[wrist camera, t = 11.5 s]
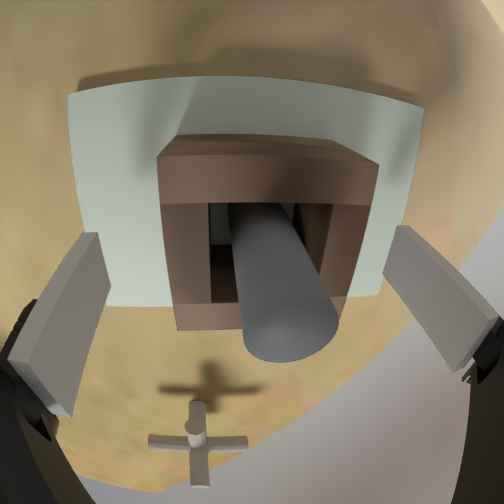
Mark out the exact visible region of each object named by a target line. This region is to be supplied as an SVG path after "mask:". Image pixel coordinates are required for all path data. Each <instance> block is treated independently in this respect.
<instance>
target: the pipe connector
mask: <svg viewBox="0 0 504 504" xmlns="http://www.w3.org/2000/svg"><path fill="white" fill-rule="evenodd" d="M185 430H186V434H187V436H168V435H155V434H149V436H148V446H149V449H150V450H159V451H173V452H189V458H190V483H191V487H193V488H209V487H210V482H209V469H208V453H213V452H243V451H248V439H247V436H226V437H207V435H206V413H205V403H204V402H202V401H191V402H190V403H189V420H188V421H186V423H185Z"/></svg>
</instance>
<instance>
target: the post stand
mask: <svg viewBox="0 0 504 504" xmlns="http://www.w3.org/2000/svg"><path fill="white" fill-rule="evenodd" d="M67 104H68V123H69V135H70V146H71V155H72V163H73V170H74V177H75V183H76V189H77V195H78V200H79V205H80V210H81V215H82V220H83V225H84V229H85V233H87V232H98V235H99V240H100V244H101V248H102V252H103V256H104V260H105V264H106V268H107V272H108V276H109V279H110V283H111V289H110V291H109V294H108V297H107V299H106V305H107V306H127V307H173V303H172V297H171V291H170V284H169V278H168V271H167V264H166V256H165V248H164V240H163V232H162V222H161V212H160V201H159V189H158V176H157V159H156V157H157V156H158V155H159V154H160V152H161V151H162V150H163V149H164V148H165V147H166V146H167V144H168V143H169V142H170V141H171V140H172V139H173V138H174V137H175V136H176V135H187V134H261V135H281V136H296V137H308V138H319V139H329V140H333V141H335V142H337V143H339V144H341V145H343V146H345V147H347V148H349V149H351V150H353V151H355V152H357V153H359V154H361V155H363V156H364V157H366V158H368V159H370V160H372V161H374V162H375V163H377V164H379V165H380V166H379V171H378V176H377V182H376V187H375V191H374V196H373V201H372V205H371V210H370V214H369V218H368V223H367V227H366V231H365V235H364V239H363V243H362V247H361V250H360V254H359V258H358V261H357V265H356V268H355V272H354V275H353V279H352V282H351V285H350V289H349V292H348V295H347V298H351V297H362V296H371V295H378V293H379V290H380V287H381V285H382V282H383V279H384V276H383V274H382V272H383V269H384V266H385V263H386V260H387V257H388V254H389V250H390V247H391V244H392V240H393V237H394V233H395V230H396V226H397V225H401V222H402V219H403V215H404V211H405V208H406V204H407V200H408V196H409V191H410V187H411V183H412V178H413V174H414V169H415V164H416V159H417V154H418V148H419V142H420V136H421V130H422V123H423V116H424V108H422V107H419V106H416V105H412V104H409V103H406V102H402V101H399V100H395V99H392V98H388V97H384V96H380V95H376V94H372V93H368V92H363V91H359V90H354V89H349V88H344V87H338V86H333V85H327V84H320V83H314V82H306V81H298V80H289V79H279V78H266V77H249V76H190V77H173V78H160V79H150V80H141V81H134V82H126V83H120V84H114V85H108V86H102V87H97V88H92V89H87V90H83V91H78V92H74V93H70V94H67ZM293 212H294V203H277V202H228V203H210V215H211V245H222V244H232V251H233V259H234V268H235V276H236V284H237V292H238V300H239V308H240V315H241V323H242V331H243V338H244V343H245V346H246V348H247V350H248V351H249V352H250V353H251V354H252V355H253V356H255V357H257V358H259V359H261V360H264V361H268V362H275V363H284V362H292V361H297V360H300V359H303V358H306V357H308V356H310V355H313V354H314V353H316V352H318V351H319V350H321V349H322V348H323V347H325V346H326V345H327V344H328V343H329V342H330V341H331V339H332V338H333V337H334V335H335V334H336V331H337V329H338V325H339V316H338V313H337V311H336V309H335V307H334V305H333V303H332V300H331V298H330V296H329V294H328V292H327V290H326V288H325V286H324V284H323V282H322V280H321V278H320V276H319V274H318V272H317V271H316V269H315V267H314V265H313V263H312V261H311V259H310V257H309V255H308V253H307V251H306V249H305V247H304V245H303V244H302V242H301V240H300V238H299V236H298V234H297V232H296V230H295V228H294V227H293V225H292V220H293Z"/></svg>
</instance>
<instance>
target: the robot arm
mask: <svg viewBox="0 0 504 504" xmlns="http://www.w3.org/2000/svg"><path fill="white" fill-rule="evenodd" d="M382 274H383V276H384V277H385V278H386V279H387V281H388V282H389V283H390V284H391V286H392V287H393V288H394V290H395V291H396V292H397V294H398V295H399V296H400V297H401V299H402V300H403V301H404V303H405V304H406V305H407V307H408V308H409V310H410V311H411V312H412V314H413V315H414V316H415V318H416V319H417V321H418V322H419V323H420V325H421V326H422V327H423V329H424V330H425V332H426V333H427V335H428V336H429V338H430V339H431V341H432V342H433V343H434V345H435V346H436V348H437V349H438V351H439V352H440V354H441V355H442V357H443V358H444V360H445V362H446V363H447V365H448V366H449V368H450V369H451V371H452V372H455V371H457V370H460V369H462V368H464V367H465V366H466V364H467V363H468V362H469V360H470V359H471V358H472V357H473V358H474V360H475V362H474V363H473V365H472V366H471V367H470V369H469V370H468V371H467V372H466V373H465V375H464V376H463V377H462V381H464V380H465V379H466V378H467V377H468V376H469V375H471V377H470V378H469V379H468V380H467V383H470V384H471V388H470V389H471V390H470V404H469V416H468V425H467V433H466V440H465V446H464V452H463V457H462V463H461V467H460V472H459V476H458V480H457V484H456V488H455V492H454V495H453V499H452V502H451V504H504V320H503V319H502V318H501V317H500V315H499V314H498V313H497V312H496V311H495V310H494V308H493V307H492V306H491V305H490V304H489V303H488V302H487V301H486V300H485V298H484V297H483V296H482V295H481V294H480V293H479V292H478V291H477V290H476V289H475V288H474V287H473V286H472V285H471V284H470V283H469V281H467V279H466V278H464V276H463V275H462V274H461V273H460V272H459V271H458V270H457V269H456V268H455V267H454V266H453V265H451V264H450V263H449V262H448V261H447V260H446V259H445V258H444V257H443V256H442V255H441V254H440V253H439V252H438V251H437V250H436V249H435V248H433V247H432V246H431V245H430V244H429V243H428V242H427V241H426V240H425V239H423V238H422V237H421V236H420V235H419V234H418V233H417V232H415V231H414V230H413V229H412V228H411V227H410V226H404V225H397V226H396V230H395V233H394V237H393V240H392V244H391V247H390V250H389V254H388V257H387V260H386V263H385V266H384V269H383V272H382ZM110 289H111V283H110V279H109V276H108V272H107V268H106V264H105V260H104V256H103V252H102V248H101V244H100V240H99V235H98V232H87V233H82V234H81V235H80V236H79V238H78V239H77V240H76V242H75V243H74V245H73V246H72V247H71V249H70V250H69V252H68V253H67V255H66V256H65V257H64V259H63V260H62V262H61V263H60V265H59V266H58V268H57V269H56V271H55V273H54V274H53V276H52V277H51V279H50V280H49V282H48V284H47V285H46V287H45V289H44V290H43V292H42V294H41V295H40V297H39V299H33V300H32V301H31V302H30V303H29V304H28V305H27V306H26V307H25V308H24V309H23V311H22V313H21V314H20V316H19V318H18V322H16V323H15V325H14V327H13V330H12V331H11V333H10V335H9V337H8V339H7V341H6V343H5V345H4V347H3V349H2V351H1V353H0V504H96V503H95V502H94V501H93V499H92V498H91V497H90V495H89V494H88V492H87V491H86V489H85V488H84V486H83V485H82V483H81V482H80V480H79V479H78V477H77V475H76V474H75V472H74V471H73V469H72V467H71V466H70V464H69V462H68V460H67V459H66V457H65V455H64V453H63V451H62V450H61V448H60V446H59V444H58V442H57V440H56V438H55V437H56V434H57V430H58V426H59V422H58V420H57V419H56V417H55V416H54V415H53V414H56V415H61V416H65V417H71V418H72V415H73V410H74V405H75V401H76V397H77V393H78V389H79V385H80V381H81V377H82V374H83V370H84V366H85V363H86V359H87V356H88V353H89V349H90V346H91V343H92V340H93V337H94V334H95V331H96V328H97V325H98V322H99V319H100V316H101V313H102V310H103V308H104V305H105V302H106V299H107V297H108V294H109V291H110ZM44 405H45V406H46V407H47V408H48V409H49V410H47V409H46V408H45V407H44Z"/></svg>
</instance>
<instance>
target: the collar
mask: <svg viewBox="0 0 504 504" xmlns="http://www.w3.org/2000/svg"><path fill="white" fill-rule="evenodd" d="M156 159H157V176H158V189H159V201H160V212H161V222H162V232H163V240H164V248H165V256H166V264H167V271H168V278H169V284H170V291H171V297H172V303H173V309H174V315H175V320H176V326H177V331H189V330H229V329H242V323H241V315H240V308H239V300H238V292H237V284H236V276H235V268H234V259H233V251H232V244H222V245H211V215H210V203H228V202H277V203H294V212H293V220H292V225H293V227H294V228H295V230H296V232H297V234H298V236H299V238H300V240H301V242H302V244H303V245H304V247H305V249H306V251H307V253H308V255H309V257H310V259H311V261H312V263H313V265H314V267H315V269H316V271H317V272H318V274H319V276H320V278H321V280H322V282H323V284H324V286H325V288H326V290H327V292H328V294H329V296H330V298H331V300H332V303H333V305H334V307H335V309H336V311H337V313H338V316H339V319H340V316H341V313H342V310H343V307H344V304H345V301H346V298H347V295H348V292H349V289H350V285H351V282H352V279H353V275H354V272H355V268H356V265H357V261H358V258H359V254H360V250H361V247H362V243H363V239H364V235H365V231H366V227H367V223H368V218H369V214H370V210H371V205H372V201H373V196H374V191H375V187H376V182H377V176H378V171H379V166H380V165H379V164H377V163H375V162H374V161H372V160H370V159H368V158H366V157H364V156H363V155H361V154H359V153H357V152H355V151H353V150H351V149H349V148H347V147H345V146H343V145H341V144H339V143H337V142H335V141H333V140H329V139H319V138H308V137H296V136H281V135H261V134H187V135H176V136H175V137H174V138H173V139H172V140H171V141H170V142H169V143H168V144H167V146H166V147H165V148H164V149H163V150H162V151H161V152H160V154H159V155H158V156H157V157H156Z"/></svg>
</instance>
